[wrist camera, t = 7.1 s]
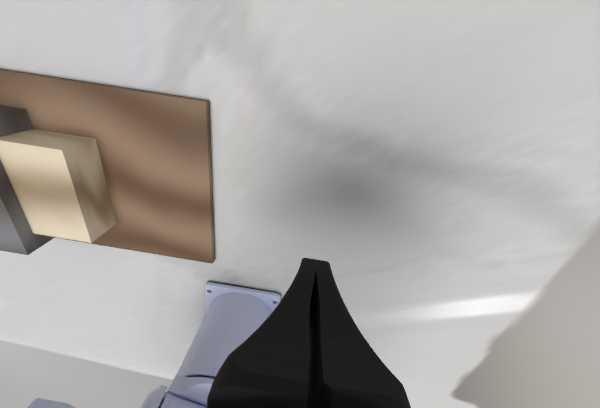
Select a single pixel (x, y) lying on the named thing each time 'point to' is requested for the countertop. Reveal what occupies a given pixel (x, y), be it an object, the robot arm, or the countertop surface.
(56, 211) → the cream wooden block
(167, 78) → the countertop surface
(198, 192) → the board
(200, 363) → the robot arm
